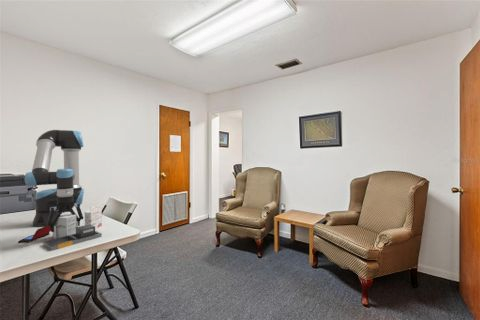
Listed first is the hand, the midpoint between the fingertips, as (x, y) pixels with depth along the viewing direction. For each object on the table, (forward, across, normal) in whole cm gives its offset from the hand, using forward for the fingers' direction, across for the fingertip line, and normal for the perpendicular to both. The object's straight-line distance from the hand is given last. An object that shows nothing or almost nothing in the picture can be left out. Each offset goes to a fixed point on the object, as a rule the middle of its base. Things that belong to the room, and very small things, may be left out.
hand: (65, 234), depth 129 cm
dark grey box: (+1, +6, -11) cm, 12 cm away
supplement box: (+2, 0, 0) cm, 2 cm away
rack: (+2, 0, -11) cm, 11 cm away
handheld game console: (+2, -10, +12) cm, 15 cm away
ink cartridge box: (+2, +16, +4) cm, 17 cm away
